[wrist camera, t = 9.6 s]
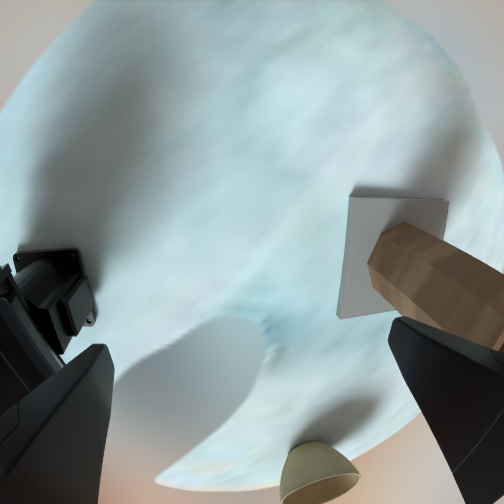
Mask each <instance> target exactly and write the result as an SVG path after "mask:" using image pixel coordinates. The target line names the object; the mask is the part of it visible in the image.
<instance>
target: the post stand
mask: <svg viewBox="0 0 504 504" xmlns="http://www.w3.org/2000/svg"><path fill="white" fill-rule="evenodd" d="M448 206H449V202H448V201H445V200H439V199H422V198H400V197H371V196H349V208H348V221H347V232H346V242H345V252H344V261H343V269H342V277H341V285H340V292H339V299H338V306H337V313H336V315H337V316H338V317H339V319H345V318H352V317H358V316H365V315H371V314H377V313H382V312H388V311H394V310H396V309H395V308H394V307H393V306H392V305H391V304H390V303H388V302H387V301H386V300H385V299H384V298H383V297H382V296H381V295H380V294H379V293H378V292H377V291H376V290H375V289H374V288H373V285H372V281H371V277H370V273H369V269H368V266H367V262H368V260H369V258H370V255H371V253H372V251H373V249H374V247H375V245H376V243H377V240H378V238H379V236H380V234H382V233H384V232H385V231H387V230H389V229H391V228H393V227H395V226H397V225H399V224H400V223H402V222H404V221H405V222H407V223H409V224H411V225H413V226H415V227H417V228H419V229H421V230H423V231H425V232H427V233H429V234H431V235H433V236H435V237H437V238H439V239H441V240H443V239H444V233H445V227H446V220H447V214H448Z"/></svg>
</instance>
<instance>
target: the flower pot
mask: <svg viewBox="0 0 504 504" xmlns="http://www.w3.org/2000/svg"><path fill="white" fill-rule="evenodd" d="M360 480H361V475H360V473H359V472H358V470H357V469H356V468H355V467H354V465H352V463H351V462H350V461H349V460H348V459H347V458H346V457H345V456H343V455H342V454H341V453H340V452H338V451H337V450H335V449H334V448H332V447H331V446H329V445H327V444H325V443H323V442H320V441H312V442H307V443H304V444H301V445H299V446H297V447H295V448H294V449H293V450H291V451H290V453H289V454H288V456H287V459H286V461H285V464H284V467H283V471H282V475H281V481H280V500H281V504H324V503H327V502H329V501H332V500H334V499H337V498H339V497H341V496H342V495H344V494H346V493H347V492H349V491H350V490H352V489H353V488H354V487H356V486H357V485H358V484H359V482H360Z"/></svg>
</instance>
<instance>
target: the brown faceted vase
mask: <svg viewBox="0 0 504 504" xmlns="http://www.w3.org/2000/svg"><path fill="white" fill-rule="evenodd" d="M367 266H368V269H369V273H370V277H371V281H372V285H373V288H374V289H375V290H376V291H377V292H378V293H379V294H380V295H381V296H382V297H383V298H384V299H385V300H386V301H387V302H388V303H390V304H391V305H392V306H393V307H394V308H395V309H396V310H397V311H398V312H399V313H400V314H401V315H402V316H407V317H409V318H412V319H414V320H417V321H420V322H422V323H425V324H428V325H430V326H433V327H436V328H438V329H441V330H443V331H446V332H449V333H451V334H454V335H457V336H459V337H462V338H465V339H467V340H470V341H473V342H475V343H478V344H481V345H483V346H486V347H488V348H489V349H490V348H491V349H494V350H497V351H499V352H502V353H504V274H502V273H500V272H499V271H497V270H495V269H494V268H492V267H490V266H489V265H487V264H485V263H483V262H482V261H480V260H478V259H476V258H475V257H473V256H471V255H469V254H467V253H466V252H464V251H462V250H460V249H458V248H456V247H454V246H453V245H451V244H449V243H447V242H445V241H443V240H441V239H439V238H437V237H435V236H433V235H431V234H429V233H427V232H425V231H423V230H421V229H419V228H417V227H415V226H413V225H411V224H409V223H407V222H405V221H404V222H402V223H400V224H399V225H397V226H395V227H393V228H391V229H389V230H387V231H385V232H384V233H382V234H380V236H379V238H378V240H377V243H376V245H375V247H374V249H373V251H372V253H371V255H370V258H369V260H368V262H367Z"/></svg>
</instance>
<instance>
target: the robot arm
mask: <svg viewBox="0 0 504 504" xmlns="http://www.w3.org/2000/svg"><path fill="white" fill-rule="evenodd" d="M72 253H74V254H75V256H76V257H73V256H72ZM18 257H19V259H20V260H18ZM13 261H14V265H15V269H16V273H17V274H16V275H15V276H14V277H13V276H12V274H11V272H12V270H11V268H10V266H9V264H8V263H7V264H5V265H4V266H2V267H1V266H0V504H98V495H99V486H100V477H101V470H102V463H103V456H104V449H105V444H106V437H107V431H108V426H109V421H110V414H111V404H112V392H113V381H114V364H113V361H112V358H111V355H110V352H109V349H108V347H107V345H105V344H92V345H91V346H89V347H88V348H87V349H86V350H84V351H83V352H82V353H80V354H79V355H78V356H77V357H75V358H74V359H73V360H71V361H70V362H69V363H68V364H65V363H64V361H63V360H62V358H61V357H60V355H62V354H64V352H65V350H66V348H67V346H68V344H69V342H70V341H71V339H72V337H76V336H77V335H78V334H79V332H80V330H81V328H82V326H89V327H91V326H93V325H94V324H95V321H96V318H95V314H94V311H93V307H94V303H93V299H92V295H91V291H90V287H89V282H88V278H87V276H86V275H85V274H84V270H83V265H82V260H81V255H80V252H79V250H78V249H77V248H60V249H47V250H34V251H21V252H17V253H15V254H14V255H13ZM88 319H90V320H91V321H89V320H88ZM388 343H389V346H390V349H391V351H392V353H393V355H394V358H395V360H396V362H397V364H398V367H399V369H400V371H401V374H402V376H403V378H404V380H405V382H406V384H407V386H408V388H409V389H410V391H411V393H412V395H413V397H414V399H415V400H416V402H417V404H418V406H419V408H420V410H421V412H422V413H423V415H424V417H425V419H426V421H427V423H428V425H429V427H430V429H431V431H432V433H433V435H434V437H435V438H436V440H437V443H438V445H439V447H440V449H441V451H442V453H443V455H444V457H445V459H446V461H447V463H448V465H449V467H450V469H451V472H452V473H453V476H454V478H455V481H456V483H457V485H458V487H459V490H460V492H461V494H462V497H463V499H464V501H465V504H493V503H495V502H496V501H497V500H499V499H500V498H501V497H502V496H503V495H504V353H502V352H499V351H497V350H494V349H491V348H490V349H489V348H488V347H486V346H483V345H481V344H478V343H475V342H473V341H470V340H467V339H465V338H462V337H459V336H457V335H454V334H451V333H449V332H446V331H443V330H441V329H438V328H436V327H433V326H430V325H428V324H425V323H422V322H420V321H417V320H414V319H412V318H409V317H407V316H402V317H397V318H395V319H394V320H393V322H392V326H391V330H390V333H389V337H388Z"/></svg>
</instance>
